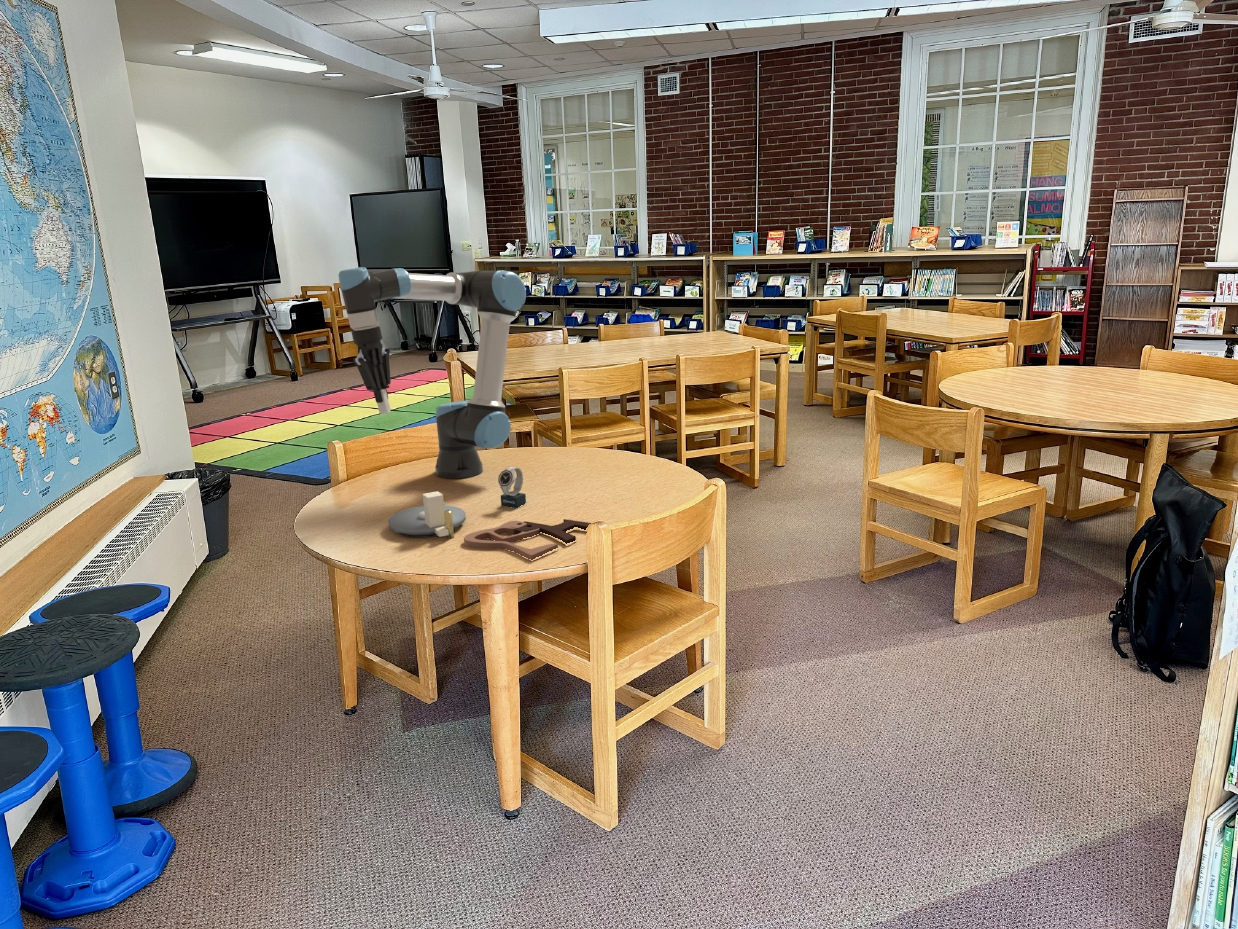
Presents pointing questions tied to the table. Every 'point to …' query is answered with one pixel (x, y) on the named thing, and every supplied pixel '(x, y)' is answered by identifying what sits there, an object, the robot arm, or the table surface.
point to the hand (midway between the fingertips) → (385, 412)
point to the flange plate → (419, 525)
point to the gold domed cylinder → (449, 523)
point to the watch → (506, 481)
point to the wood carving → (522, 536)
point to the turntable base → (421, 534)
